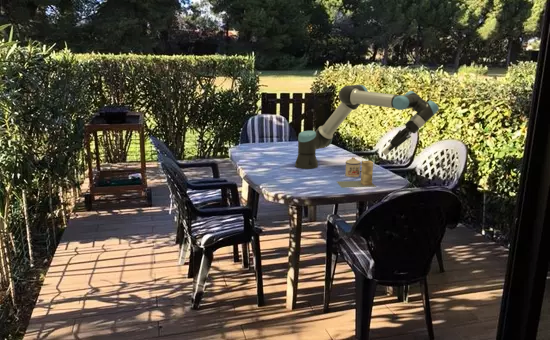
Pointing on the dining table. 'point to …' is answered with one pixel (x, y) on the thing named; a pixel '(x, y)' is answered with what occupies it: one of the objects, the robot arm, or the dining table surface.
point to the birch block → (366, 172)
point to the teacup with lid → (353, 168)
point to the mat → (353, 184)
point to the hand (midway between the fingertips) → (383, 153)
